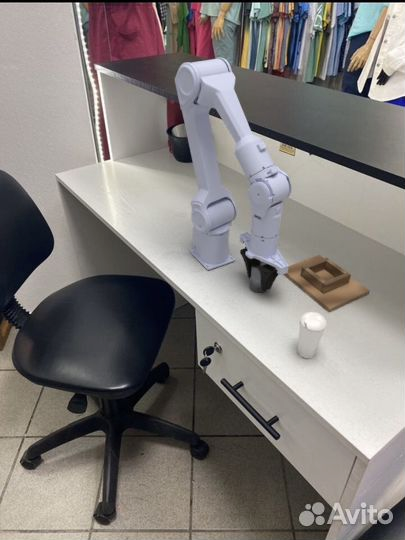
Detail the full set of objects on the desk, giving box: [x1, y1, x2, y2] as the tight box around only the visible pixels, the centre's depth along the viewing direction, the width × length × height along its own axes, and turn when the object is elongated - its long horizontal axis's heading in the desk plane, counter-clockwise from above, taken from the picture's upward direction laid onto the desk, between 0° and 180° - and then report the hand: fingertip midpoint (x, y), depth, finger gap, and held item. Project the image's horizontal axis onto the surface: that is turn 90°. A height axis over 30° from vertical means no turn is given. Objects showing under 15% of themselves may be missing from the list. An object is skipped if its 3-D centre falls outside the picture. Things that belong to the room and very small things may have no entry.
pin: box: [249, 261, 268, 294], centre depth 87 cm, size 4×4×6 cm
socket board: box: [282, 254, 371, 313], centre depth 89 cm, size 16×12×4 cm
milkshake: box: [297, 311, 328, 360], centre depth 70 cm, size 4×5×10 cm
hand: (259, 282), depth 87 cm, fingers open, 5 cm apart
